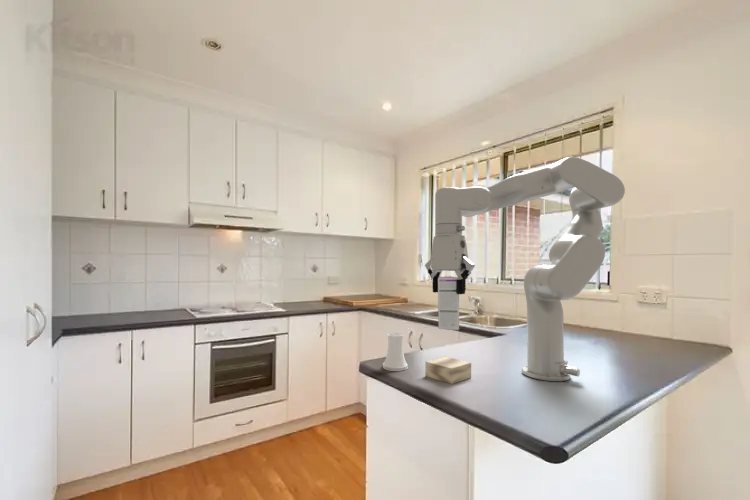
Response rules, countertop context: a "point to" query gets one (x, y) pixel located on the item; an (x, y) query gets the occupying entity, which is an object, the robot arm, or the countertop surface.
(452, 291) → the syrup box
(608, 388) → the countertop surface
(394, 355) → the white flared cylinder
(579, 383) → the countertop surface
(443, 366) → the beech block
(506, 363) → the countertop surface
